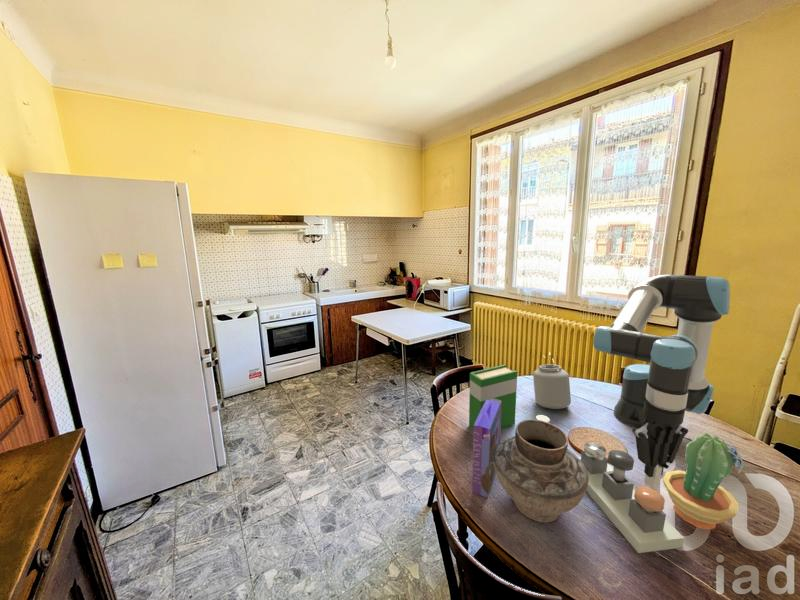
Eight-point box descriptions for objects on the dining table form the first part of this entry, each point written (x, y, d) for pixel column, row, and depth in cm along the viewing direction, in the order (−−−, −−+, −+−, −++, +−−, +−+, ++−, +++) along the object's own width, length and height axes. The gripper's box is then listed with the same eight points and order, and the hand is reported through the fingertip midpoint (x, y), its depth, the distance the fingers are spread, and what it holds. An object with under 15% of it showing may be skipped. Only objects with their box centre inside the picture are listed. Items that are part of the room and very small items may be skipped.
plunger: (595, 459, 106) (597, 441, 104) (608, 472, 100) (610, 453, 98) (578, 461, 105) (580, 443, 104) (590, 474, 99) (592, 455, 98)
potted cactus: (715, 551, 78) (734, 464, 73) (646, 503, 92) (659, 428, 87) (745, 526, 84) (765, 445, 79) (677, 485, 98) (690, 413, 93)
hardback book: (502, 415, 138) (504, 364, 133) (514, 424, 131) (517, 371, 126) (469, 425, 132) (469, 372, 127) (479, 435, 125) (481, 380, 120)
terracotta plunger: (646, 506, 86) (650, 484, 84) (667, 526, 80) (671, 503, 78) (626, 508, 85) (629, 487, 84) (645, 529, 80) (648, 506, 78)
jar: (522, 396, 153) (525, 347, 148) (548, 391, 156) (552, 344, 151) (549, 417, 135) (553, 363, 130) (577, 411, 139) (583, 359, 133)
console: (598, 462, 108) (600, 442, 107) (682, 547, 79) (687, 521, 78) (565, 466, 108) (567, 445, 106) (638, 553, 78) (642, 526, 77)
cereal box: (487, 498, 96) (489, 428, 91) (472, 492, 98) (473, 424, 93) (499, 461, 111) (501, 400, 106) (485, 457, 113) (487, 397, 108)
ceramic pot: (568, 477, 102) (574, 412, 97) (598, 552, 79) (608, 471, 74) (489, 468, 108) (491, 405, 103) (495, 535, 84) (498, 458, 79)
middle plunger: (620, 469, 95) (622, 449, 93) (636, 484, 89) (639, 463, 88) (601, 471, 94) (603, 450, 93) (616, 486, 89) (619, 465, 87)
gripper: (674, 393, 80) (661, 471, 85) (626, 397, 79) (616, 477, 84) (705, 409, 72) (688, 494, 78) (653, 414, 71) (639, 500, 77)
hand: (651, 485), depth 81 cm, fingers closed
